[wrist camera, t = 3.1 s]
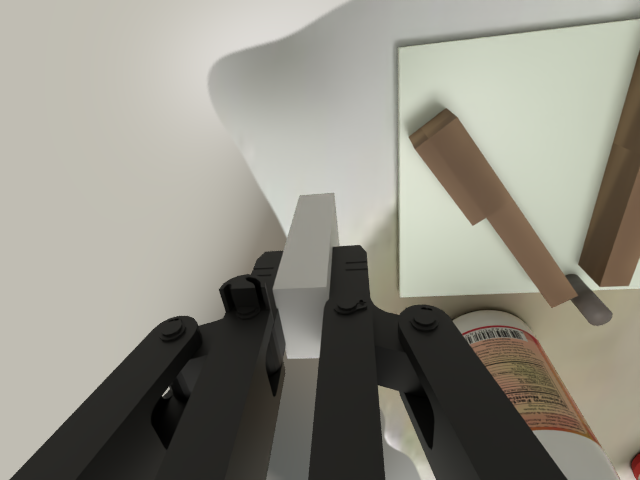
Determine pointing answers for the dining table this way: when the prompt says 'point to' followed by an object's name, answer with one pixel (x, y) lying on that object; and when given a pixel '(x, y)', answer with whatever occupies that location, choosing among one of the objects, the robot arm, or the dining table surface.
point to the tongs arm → (487, 200)
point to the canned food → (636, 467)
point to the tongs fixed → (614, 215)
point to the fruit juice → (536, 392)
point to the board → (511, 148)
